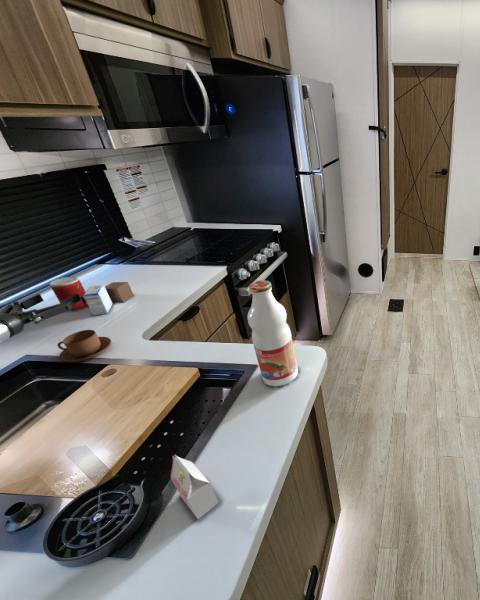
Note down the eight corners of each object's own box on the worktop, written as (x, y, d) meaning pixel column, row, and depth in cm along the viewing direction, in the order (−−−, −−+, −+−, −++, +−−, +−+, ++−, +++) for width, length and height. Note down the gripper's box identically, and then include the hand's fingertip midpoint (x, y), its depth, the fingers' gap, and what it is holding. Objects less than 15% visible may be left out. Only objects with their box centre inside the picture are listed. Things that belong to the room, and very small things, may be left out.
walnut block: (107, 302, 129) (101, 288, 127) (118, 295, 135) (112, 282, 132) (123, 302, 130) (116, 288, 127) (133, 295, 135) (127, 281, 132)
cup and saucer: (59, 371, 93) (48, 353, 90) (65, 350, 102) (55, 334, 99) (112, 355, 99) (103, 338, 96) (114, 337, 108) (106, 321, 105)
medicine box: (99, 306, 126) (88, 286, 122) (113, 304, 128) (103, 284, 124) (93, 316, 120) (82, 295, 116) (108, 313, 122) (98, 292, 118)
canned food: (92, 306, 127) (78, 280, 121) (64, 313, 122) (49, 287, 117) (90, 299, 131) (77, 274, 126) (63, 306, 127) (49, 280, 122)
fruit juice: (305, 373, 92) (288, 282, 79) (276, 392, 85) (252, 297, 72) (285, 360, 97) (266, 272, 84) (255, 377, 90) (230, 285, 77)
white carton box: (201, 481, 64) (184, 447, 59) (218, 502, 61) (202, 467, 56) (181, 496, 62) (162, 462, 57) (198, 519, 58) (179, 484, 53)
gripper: (-36, 340, 103) (30, 306, 121) (45, 338, 103) (99, 305, 122) (-52, 319, 99) (19, 288, 118) (32, 318, 99) (89, 287, 118)
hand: (59, 297), depth 120 cm, fingers open, 13 cm apart
